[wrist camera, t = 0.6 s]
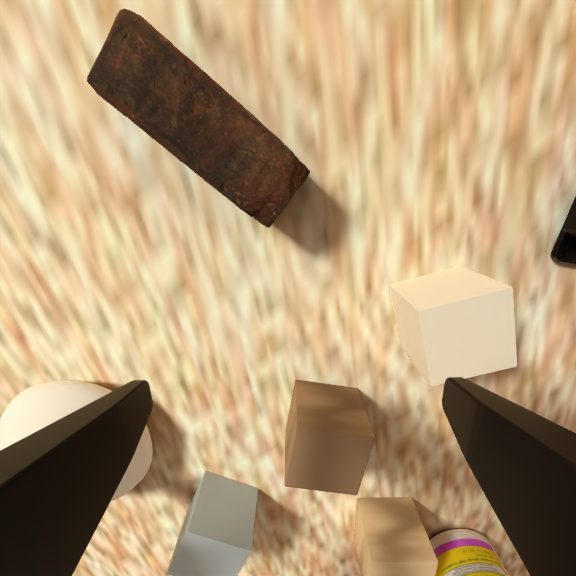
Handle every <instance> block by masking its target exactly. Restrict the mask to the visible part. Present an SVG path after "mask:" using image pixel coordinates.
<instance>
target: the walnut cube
mask: <svg viewBox="0 0 576 576" xmlns="http://www.w3.org/2000/svg"><path fill="white" fill-rule="evenodd" d="M374 440H375V435H374V432H373V430H372V427H371V424H370V421H369V418H368V416H367V413H366V410H365V407H364V404H363V401H362V399H361V396H360V393H359V390H358V388H351V387H344V386H337V385H330V384H323V383H316V382H308V381H301V380H295V385H294V390H293V395H292V400H291V406H290V411H289V416H288V421H287V426H286V436H285V486H286V487H294V488H302V489H310V490H318V491H326V492H334V493H342V494H350V495H357V494H358V491H359V488H360V485H361V481H362V478H363V475H364V472H365V469H366V466H367V462H368V459H369V456H370V453H371V450H372V446H373V443H374Z"/></svg>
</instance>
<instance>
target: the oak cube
mask: <svg viewBox="0 0 576 576" xmlns="http://www.w3.org/2000/svg"><path fill="white" fill-rule="evenodd" d="M354 539H355V544H356V549H357V555H358V560H359V565H360V570H361V575H362V576H435V575H436V570H437V565H438V560H437V558H436V555H435V553H434V550H433V548H432V546H431V543H430V541H429V538H428V536H427V533H426V531H425V528H424V526H423V523H422V521H421V519H420V516H419V514H418V511H417V509H416V506H415V504H414V501H413V499H412V497H401V498H357V503H356V516H355V529H354Z"/></svg>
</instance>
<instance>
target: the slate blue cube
mask: <svg viewBox="0 0 576 576" xmlns="http://www.w3.org/2000/svg"><path fill="white" fill-rule="evenodd" d="M257 495H258V488H256V487H253V486H250V485H247V484H244V483H241V482H238V481H235V480H232V479H229V478H226V477H223V476H220V475H217V474H214V473H211V472H208V471H205V473H204V475H203V477H202V479H201V481H200V483H199V486H198V488H197V490H196V492H195V494H194V496H193V498H192V500H191V502H190V505H189V507H188V509H187V512H186V515H185V518H184V521H183V525H182V528H181V531H180V534H179V537H178V540H177V543H176V546H175V549H174V553H173V556H172V559H171V562H170V565H169V568H168V571H167V574H170V575H173V576H237V575H238V573H239V572H240V570H241V568H242V567H243V565H244V563H245V562H246V560H247V558H248V557H249V555H250V553H251V552H252V543H253V533H254V524H255V514H256V504H257Z"/></svg>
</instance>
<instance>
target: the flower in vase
mask: <svg viewBox="0 0 576 576" xmlns="http://www.w3.org/2000/svg"><path fill="white" fill-rule="evenodd" d="M110 392H112V391H111V390H109V389H107V388H104V387H102V386H99V385H96V384H93V383H89V382H84V381H77V380H61V381H50V382H44V383H40V384H37V385H34V386H31V387H29V388H27V389H25V390H24V391H22V392H21V393H19V394H18V395H17V396H16V397H15V398H14V399H13V400H12V401H11V403H10V404H9V405H8V407H7V408H6V410H5V412H4V413H3V415H2V417H1V419H0V450H2V449H4V448H6V447H8V446H10V445H12V444H14V443H15V442H17V441H19V440H21V439H23V438H25V437H27V436H29V435H31V434H33V433H34V432H36V431H38V430H40V429H42V428H44V427H46V426H48V425H50V424H51V423H53V422H55V421H57V420H59V419H61V418H63V417H65V416H67V415H69V414H70V413H72V412H74V411H76V410H78V409H80V408H82V407H84V406H86V405H87V404H89V403H91V402H93V401H95V400H97V399H99V398H101V397H103V396H105V395H106V394H108V393H110ZM152 455H153V449H152V441H151V437H150V433H149V430H148V427H147V425H146V426H145V429H144V431H143V434H142V436H141V439H140V441H139V444H138V446H137V449H136V451H135V454H134V456H133V458H132V460H131V462H130V464H129V466H128V469H127V470H126V472H125V474H124V476H123V478H122V480H121V482H120V484H119V486H118V488H117V490H116V492H115V494H114V495H113V497H112V499H111V501H112V500H115V499H117V498H119V497H121V496H123V495H125V494H126V493H128V492H129V491H130V490H131V489H132V488H134V487H135V486H136V485H137V484H138V483H139V482H140V481H141V480H142V479H143V478H144V476H145V475H146V473H147V472H148V470H149V468H150V465H151V461H152Z"/></svg>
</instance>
